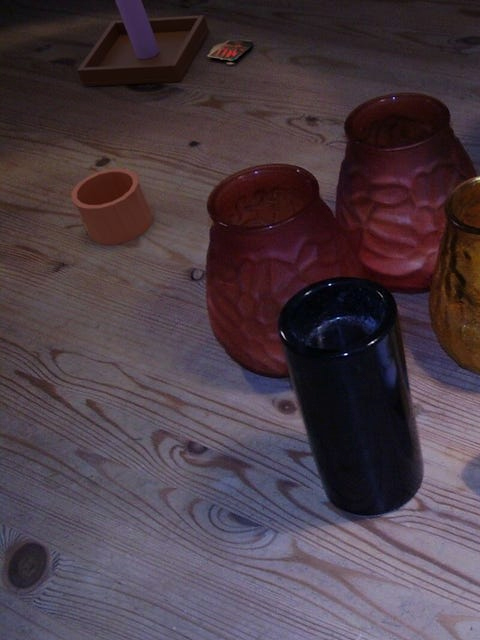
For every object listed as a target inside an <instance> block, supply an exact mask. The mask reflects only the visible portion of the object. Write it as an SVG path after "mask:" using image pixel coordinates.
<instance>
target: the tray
mask: <svg viewBox="0 0 480 640" xmlns="http://www.w3.org/2000/svg"><path fill="white" fill-rule="evenodd" d="M148 20H149V23H150V26H151V28H152V31H153V34H154V37H155V39H156V42H157V45H158V48H159V53H158V54H157V55H156V56H154V57H152V58H149V59H139V58H137V56H136V54H135V51H134V48H133V46H132V43H131V41H130V38H129V35H128V33H127V30H126V27H125V25H124V22H123V20H122V19H120V20H119V19H118V20H117V19H115V20H111V22H109V23H110V24H109V25H108V26H107V27H106V29H105V31H104V32H103V33H102V35H101V36H100V37H99V39H98V40H97V42H95V44H94V46H93V47H92V49H91V50H90V51H89V53H88V55H86V57H85V59H84V60H83V61H82V63H81V64H80V65H79V67H78V69H77V70H76V71H77V74H78V76H79V78H80V80H81V82H82V85H83V87H84V88H87V87H105V86H123V85H126V86H127V85H143V84H162V83H163V84H164V83H181V82H182V80H183V79H184V77H185V76H186V73H187V72H188V70H189V69H190V67H191V64H192V63H193V61H194V59H195V58H196V56H197V54H198V52H199V50H200V49H201V47H202V45H203V43H204V42H205V40H206V38H207V36H208V34H209V33H210V29H209V26H208V23H207V20H206V17H205V15H204V14H202V15H185V16H169V17H153V18H151V17H150V18H149V17H148Z"/></svg>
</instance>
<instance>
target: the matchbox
mask: <svg viewBox="0 0 480 640" xmlns="http://www.w3.org/2000/svg"><path fill="white" fill-rule="evenodd" d="M253 45H254V40H248V39H240V38H237V39H234V40H233V39H232V40H227V41H226V42H225V41H224V43H217V44H216V45H213V46H212V48H211V49H210V51H209V54H207V57H208V58H215V59H220V60H227V61H229V62H227V61H226V62H225V64H227V65H228V66H230V65H235V66H236V63H234V62H232V61H234V60H237V59H238V58H239V57H240V56H242V54H244V53H245V54H247V52H246V51H248V50H249V49H250V48H251V47H252V46H253Z"/></svg>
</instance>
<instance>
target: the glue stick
mask: <svg viewBox="0 0 480 640" xmlns="http://www.w3.org/2000/svg"><path fill="white" fill-rule="evenodd" d="M114 1H115V4H116V7H117V9H118V12H119V14H120V17H121V20H123V22H124V25H125V27H126V30H127V33H128V35H129V38H130V41H131V43H132V46H133V48H134V51H135V54H136V56H137V58H139V59H149V58H152V57H154V56H156V55H157V54H158V53H159V48H158V45H157V42H156V39H155V37H154V34H153V31H152V28H151V26H150V23H149V20H148V19H149V17H148V15H147V12H146V9H145V7H144V4H143V1H142V0H114Z"/></svg>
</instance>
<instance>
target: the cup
mask: <svg viewBox="0 0 480 640" xmlns="http://www.w3.org/2000/svg"><path fill="white" fill-rule="evenodd" d="M147 197H148V196H147V195H146V192H145V190H144V188H143V185H142V183H141V180H140V178H139V176H138V175H137V174H136V173H135V172H134V171H133V170H130V169H126V168H123V167H121V168H108V169H107V168H106V169H103V170H100V171H97V172H94V173H93V174H91V175H87V177H84V178H83V179H82V180H81V181H80V182H79V183H77V184H76V185H75V186H74V187H73V190H72V191H71V202H72V204H73V206H74V208H75V210H76V212H77V214H78V216H79V219H80V221H81V223H82V224H83V227H84V229H85V231H86V233H87V235H88V237H90V239H91V241H93V242H94V243H96V244H98V245H102V246H116V245H122V244H125V243H129V242H131V241H134V240H135V239H138V238H139V237H140V236H142V235H144V234H145V233H146V232H147V231H148V230H149V229H150V228H151V226H152V225H153V222H154V219H155V218H154V212H153V209H152V206H151V205H150V202H149V200H148V198H147Z"/></svg>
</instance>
